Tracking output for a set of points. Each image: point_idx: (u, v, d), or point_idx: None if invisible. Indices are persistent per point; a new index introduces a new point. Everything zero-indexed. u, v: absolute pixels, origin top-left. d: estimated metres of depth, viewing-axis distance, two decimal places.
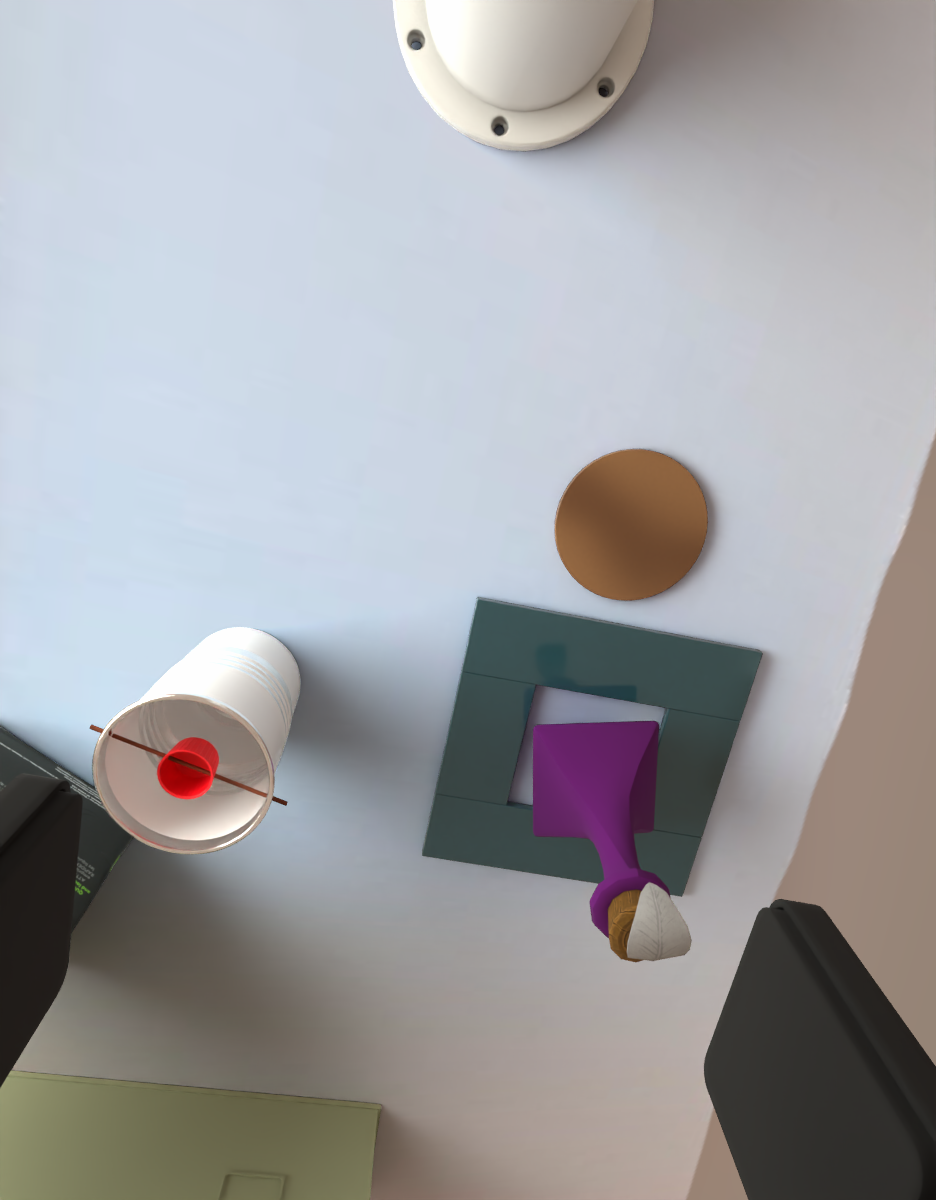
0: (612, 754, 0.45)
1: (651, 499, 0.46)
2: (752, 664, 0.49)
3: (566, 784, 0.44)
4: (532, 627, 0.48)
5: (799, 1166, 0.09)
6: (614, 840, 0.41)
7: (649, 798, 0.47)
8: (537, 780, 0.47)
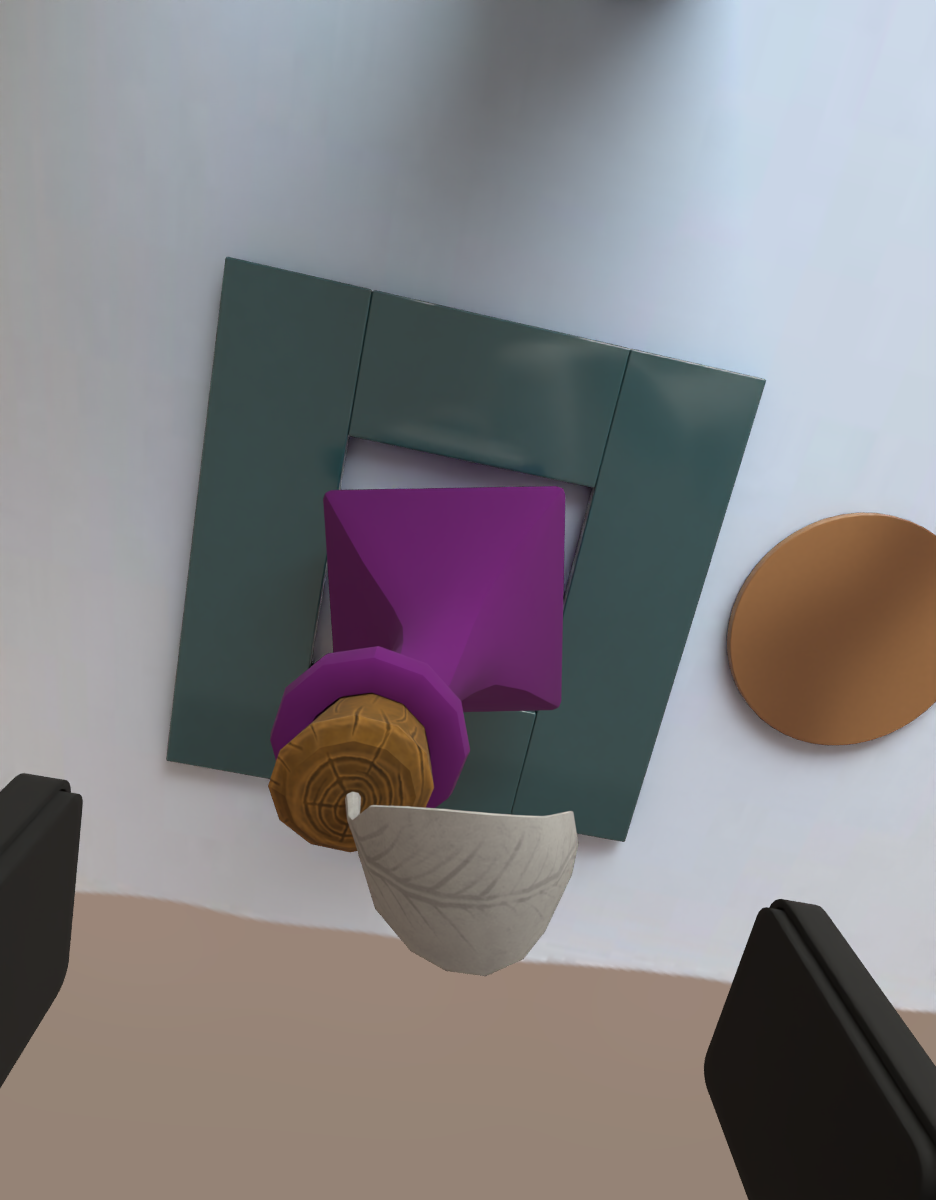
0: (536, 640, 0.24)
1: (890, 662, 0.29)
2: (607, 829, 0.31)
3: (495, 558, 0.22)
4: (703, 479, 0.27)
5: (799, 1166, 0.09)
6: (457, 675, 0.19)
7: None
8: (455, 497, 0.24)
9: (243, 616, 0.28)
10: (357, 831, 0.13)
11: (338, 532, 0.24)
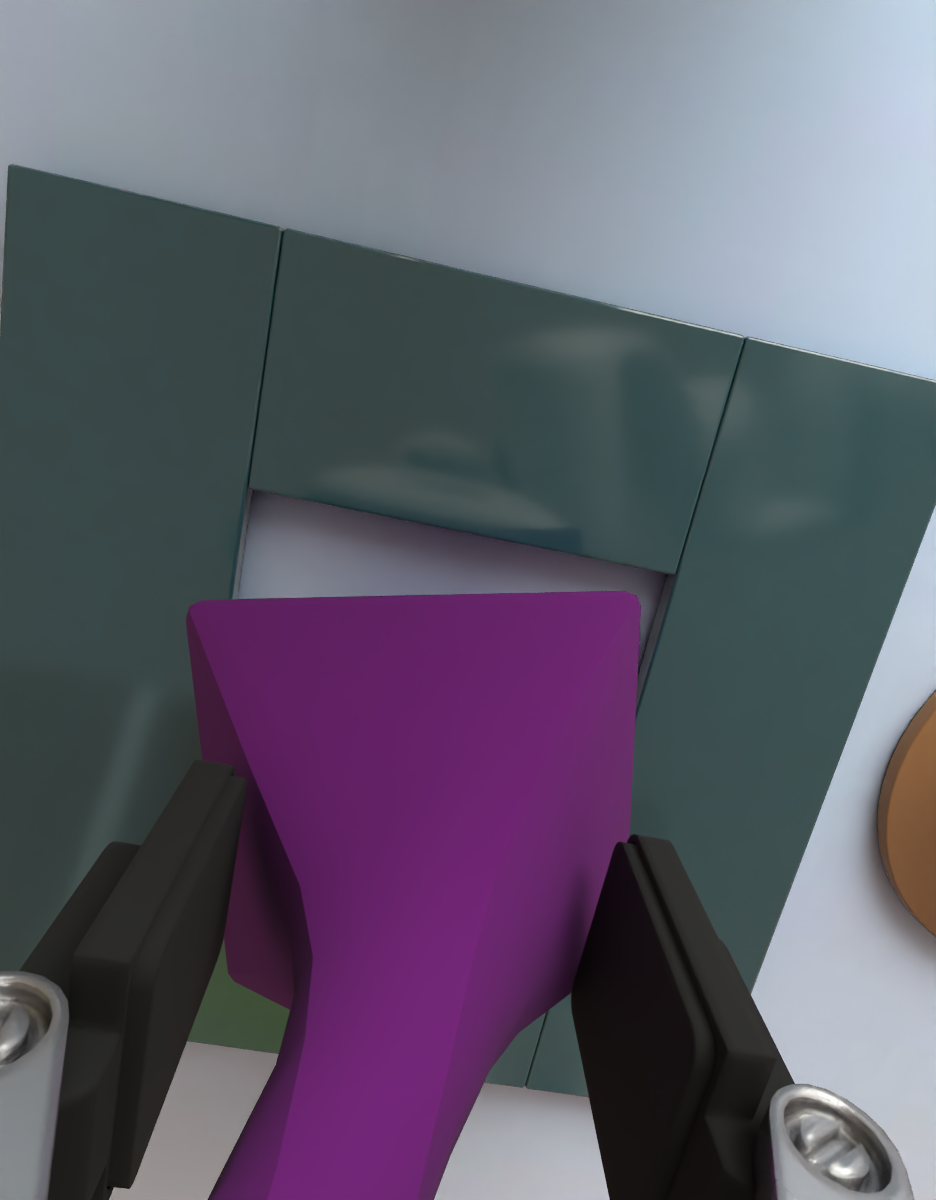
0: (591, 892, 0.12)
1: None
2: None
3: (516, 763, 0.11)
4: (860, 559, 0.16)
5: (623, 1066, 0.10)
6: (437, 1147, 0.07)
7: None
8: (436, 616, 0.13)
9: (80, 788, 0.17)
10: None
11: (209, 687, 0.12)
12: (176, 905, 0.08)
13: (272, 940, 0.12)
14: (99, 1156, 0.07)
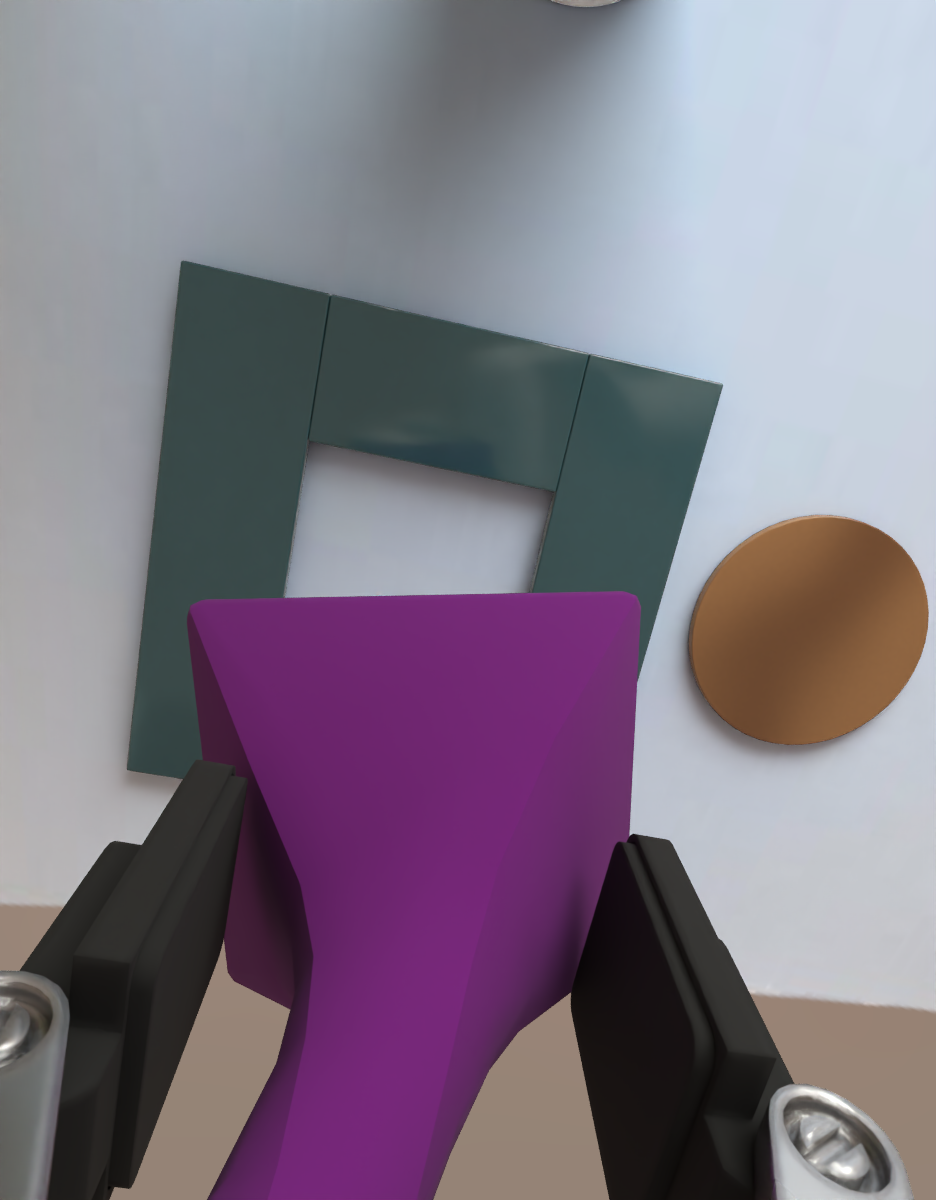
0: (591, 891, 0.12)
1: (849, 661, 0.30)
2: None
3: (516, 763, 0.11)
4: (662, 482, 0.27)
5: (623, 1066, 0.10)
6: (437, 1144, 0.07)
7: None
8: (437, 616, 0.13)
9: None
10: None
11: (210, 687, 0.12)
12: (176, 905, 0.08)
13: (272, 939, 0.12)
14: (99, 1156, 0.07)
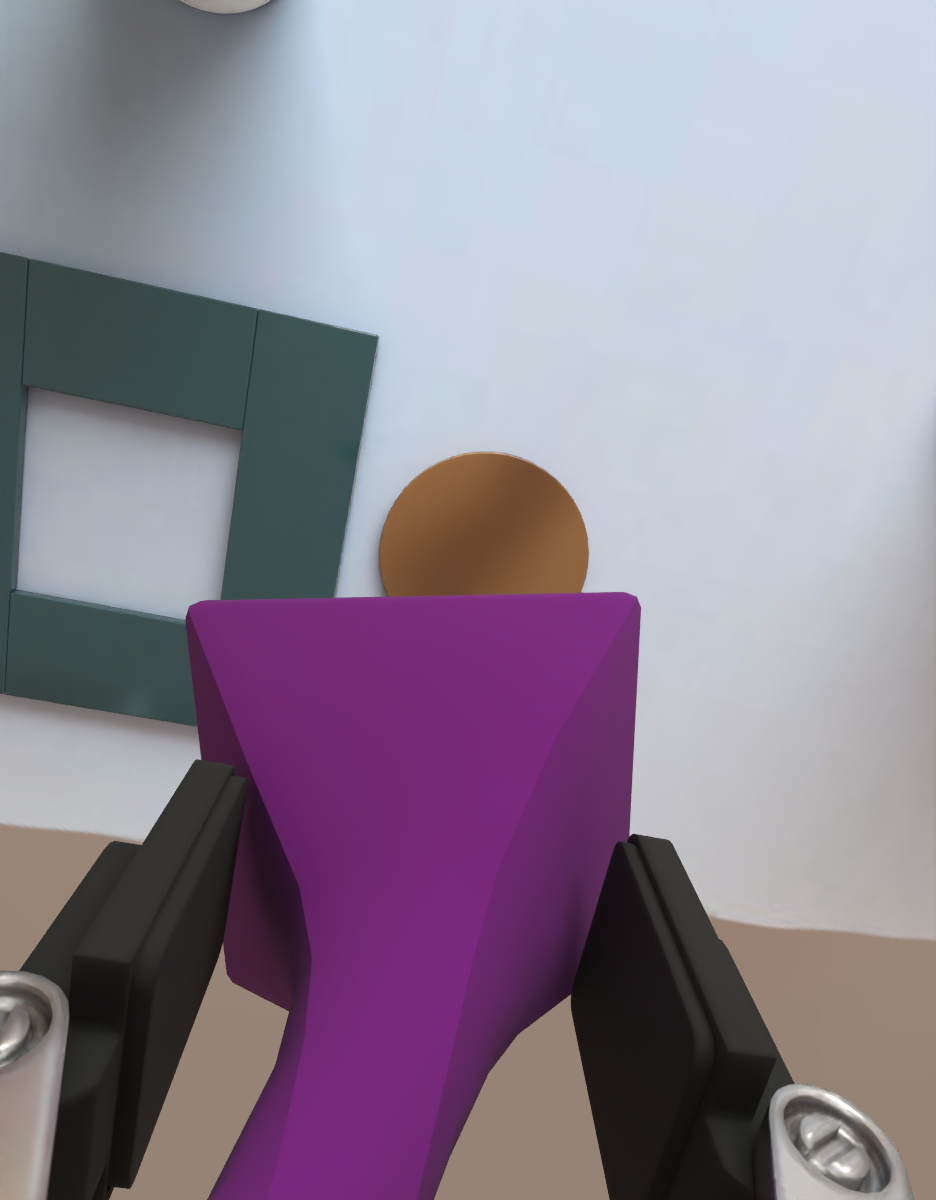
0: (590, 893, 0.12)
1: (521, 582, 0.34)
2: None
3: (516, 764, 0.11)
4: (335, 421, 0.32)
5: (623, 1066, 0.10)
6: (436, 1150, 0.07)
7: None
8: (436, 617, 0.13)
9: None
10: None
11: (208, 688, 0.12)
12: (176, 905, 0.08)
13: (271, 941, 0.11)
14: (99, 1156, 0.07)
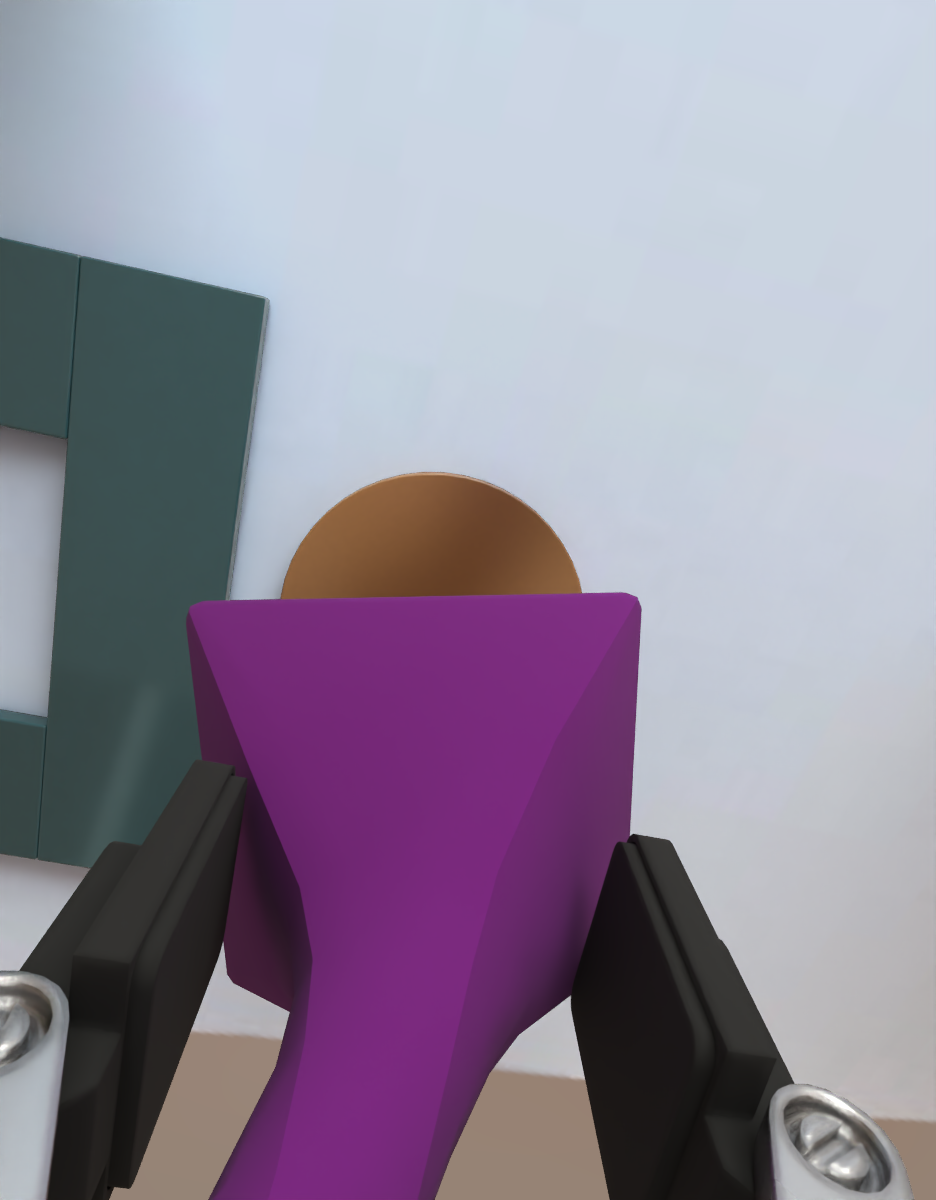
0: (591, 894, 0.12)
1: None
2: None
3: (516, 765, 0.11)
4: (205, 427, 0.21)
5: (623, 1066, 0.10)
6: (437, 1150, 0.07)
7: None
8: (436, 617, 0.13)
9: None
10: None
11: (209, 688, 0.12)
12: (176, 905, 0.08)
13: (271, 942, 0.11)
14: (99, 1156, 0.07)
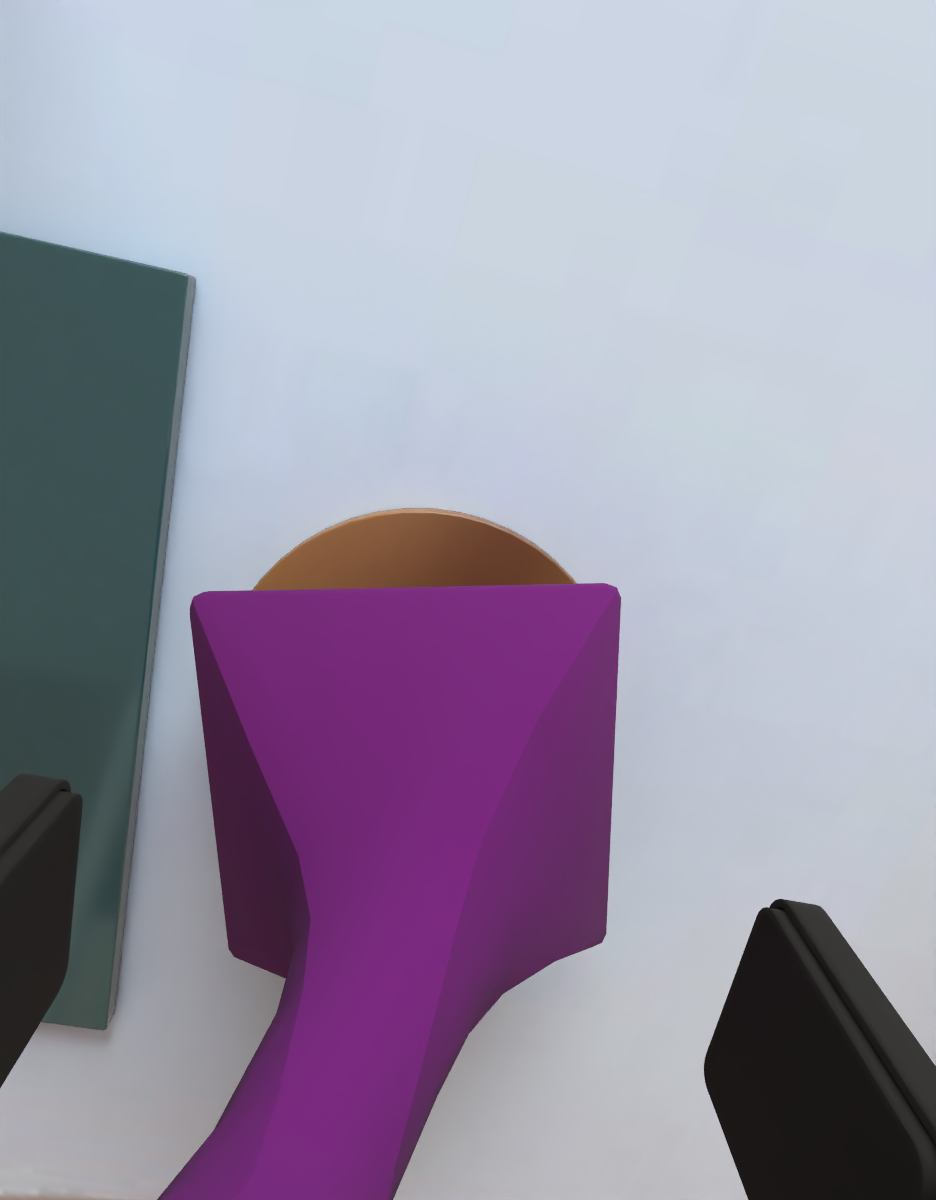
0: (573, 867, 0.13)
1: None
2: (72, 1013, 0.19)
3: (501, 743, 0.11)
4: (110, 450, 0.16)
5: (799, 1166, 0.09)
6: (423, 1084, 0.08)
7: None
8: (427, 606, 0.13)
9: None
10: None
11: (212, 674, 0.13)
12: None
13: (271, 911, 0.12)
14: None
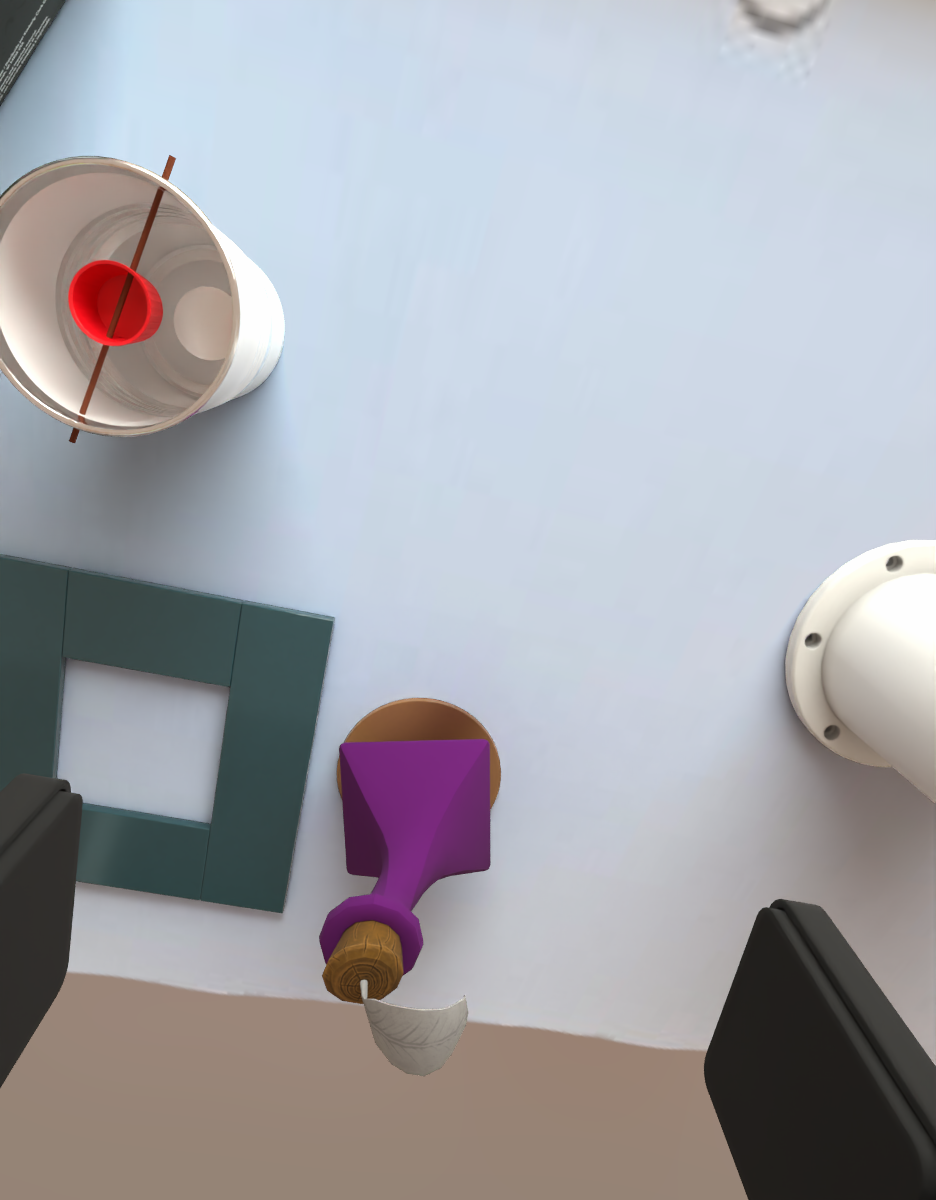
0: (470, 838, 0.39)
1: None
2: (269, 905, 0.45)
3: (444, 799, 0.37)
4: (301, 681, 0.41)
5: (799, 1166, 0.09)
6: (419, 887, 0.34)
7: None
8: (421, 749, 0.39)
9: (2, 769, 0.42)
10: (366, 1006, 0.27)
11: (349, 773, 0.38)
12: None
13: (370, 851, 0.38)
14: None
